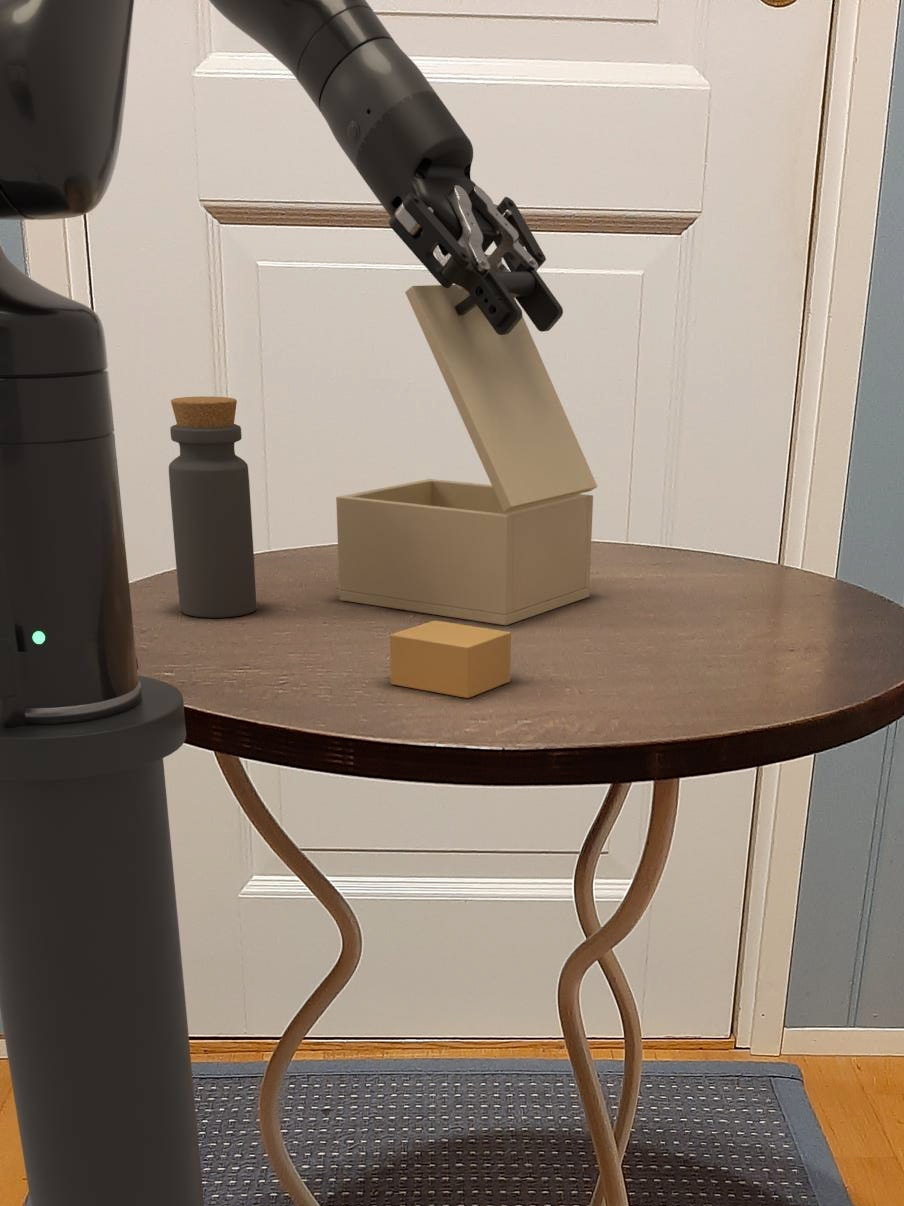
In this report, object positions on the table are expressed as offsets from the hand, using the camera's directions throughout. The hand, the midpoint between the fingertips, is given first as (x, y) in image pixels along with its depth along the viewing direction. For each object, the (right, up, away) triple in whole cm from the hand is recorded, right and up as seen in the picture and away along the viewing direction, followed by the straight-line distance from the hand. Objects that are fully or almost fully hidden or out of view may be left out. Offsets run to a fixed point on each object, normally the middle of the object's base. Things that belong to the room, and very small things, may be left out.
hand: (532, 323), depth 109 cm
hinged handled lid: (-2, -4, +3) cm, 6 cm away
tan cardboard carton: (-6, -28, -11) cm, 31 cm away
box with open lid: (-5, -16, +12) cm, 21 cm away
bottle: (-24, -19, +8) cm, 31 cm away
